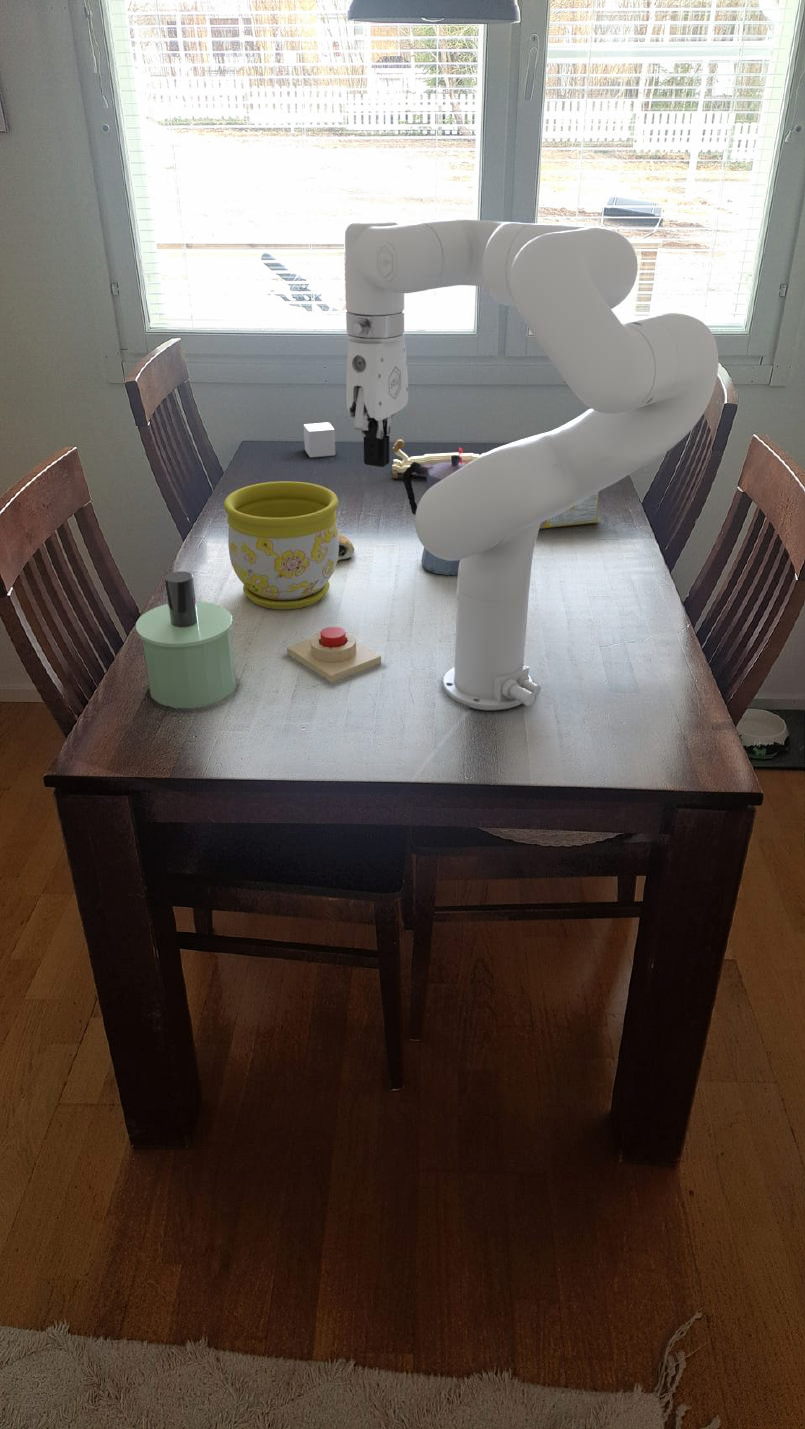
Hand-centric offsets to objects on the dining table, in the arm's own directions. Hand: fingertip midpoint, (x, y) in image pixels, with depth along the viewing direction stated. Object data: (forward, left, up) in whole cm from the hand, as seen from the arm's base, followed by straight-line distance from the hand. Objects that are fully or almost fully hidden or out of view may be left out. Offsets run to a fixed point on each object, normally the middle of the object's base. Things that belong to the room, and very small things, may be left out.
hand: (376, 464), depth 140 cm
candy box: (+15, -56, -27) cm, 64 cm away
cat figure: (+50, -60, -27) cm, 83 cm away
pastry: (+31, -14, -27) cm, 44 cm away
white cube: (+82, -48, -27) cm, 99 cm away
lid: (+4, +30, -17) cm, 35 cm away
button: (-2, +10, -24) cm, 26 cm away
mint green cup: (+4, +30, -27) cm, 41 cm away
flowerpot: (+22, +2, -27) cm, 35 cm away
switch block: (-2, +10, -27) cm, 29 cm away
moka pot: (+14, -26, -27) cm, 40 cm away
